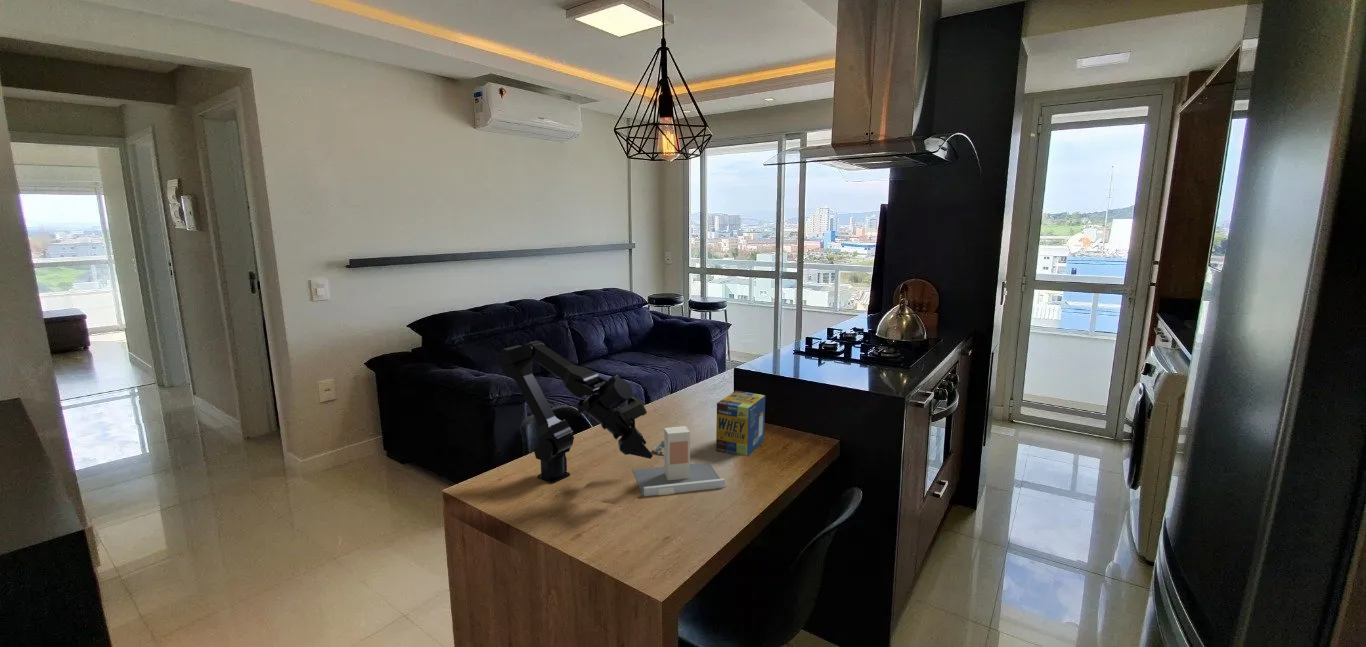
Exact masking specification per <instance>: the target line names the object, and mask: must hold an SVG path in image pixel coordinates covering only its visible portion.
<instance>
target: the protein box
mask: <svg viewBox="0 0 1366 647" xmlns="http://www.w3.org/2000/svg"><path fill="white" fill-rule="evenodd" d="M765 417H766V395H764V394H758V393H753V392H747V391H741V390H734V391H733V392H732V393H730V394H728V395H727V396H725V397H724V398H723V399H721V400H719V401H717V403H716V426H715V427H716V435H715V438H716V441H715V442H716V443H715V444H716V445H715V446H716V447H715V448H716V452H721V453H727V454H730V455H735V456H736V455H737V456H744V457H749V456H750V455H751V454H752V453H753V452H754V451H755V450H756V449H757V448H758V447H760V445H761V444H762V443H763V442H765V422H766V421H765Z"/></svg>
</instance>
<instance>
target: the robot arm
mask: <svg viewBox="0 0 1366 647" xmlns="http://www.w3.org/2000/svg"><path fill="white" fill-rule="evenodd" d="M532 360H533V361H535V362H536V363H537V364H539V365H540V366H541V367H543V368H544V369H546V370H547V371H549V373H552V374H553V375H555V376H556V377H557V378H559V379H560V380H561V381H562V382H563V385H564V387H565V388H566V389H567V391H568V392H570V393H571V394H572V395H573V397H576V398H580V399H579V400H578V402H577V404H576V406H577V414H578V415H581V414H583V413H585V412H586V413H587V414H588V415H589V416H591V417H592V418H593V419H594V420H595V421H597V423H599V424H600V426H601V428H602V430H605V431H606V430H607V431H608V432H609V433H611V435H612V436H613V438H614V439H615V440H617V445H618V449H619V451H620V452H621V453H622V454H623V455H624V456H626V455H632V456H635V457H636V456H637V457H641V458H645V459H649V460H651V459H652V458H653V457H654V456H653V454H652V452H651V451H650V450H649V448H648V447H647V446H646V444H647V441H646V440H645V438H644V436H643V434H642V433H641V431H639V429H637V427H636V420H637V419H638V418H640V417H643V416H645V415H647V414H648V411H647V409H646V407H645V405H644V404H643V401H642V399H641V398H639V397H636V398H635V397H634V396H633V388H632V386H631V384H630V383H628V382H627V381H626V380H625V379H623V378H620V376H619V375H618V374H616V375H613V376H612V377H610V378H609V379H608V380H607V379H605V378H603V377H601V376H600V375H599V374H598V373H597V372H596V371H595V370H592V369H590V368H589V367H588V368H587V367H585V366H579V365H576V364H573V363H571V362H570V361H568V359H566V358H564V357H563V356H562V355H560V354H558V353H556V351H554V350H553V349H551V348H549V347H548V346H546V344H545V343H544V342H542V341H540V340H535V341H531V342H528V343H525V344H524V345H515V346H514V345H513V346H511V347H506V348H504V349H501V350H499V352H498V355H497V358H496V361H497V364H498V366H499V367H500V369H501V370H502V372H503V373H504V374H505V375H506V376H508V377H509V378H511V379H512V380H513V381H515V383H516V385H517V387H518V389H519V391H520V392H521V395H522V396H523V399H524V400H525V402H526V404H527V406H528V407H529V408H528V409H530V412H531V414H532V415H533V417H534V419H535V422H536V423H537V424H538V439H539V441H540V445H539V446H538V447H536V449H535V450H534V451H533V453H534V456H535V459H537V460H540V473H539V474H537V478H539V479H541V480H544V481H546V482H549V483H552V484H553V483H556V482H558V481H560V480H562V479H564V478H567V477H569V476H570V475H571V473H570V472H568V461H567V460H568V458H567V456H566V453H569V452H570V451H571V447H572V446H573V445H574V440H575V436H574V433H573V432H574V430H573V429H572V428H571V427H570V423H569V422H568V420H567V419H563V420H561V419H559V418H558V417H556V415H555V413H554V410H553V409H552V407H551V405H550V404H549V402H548V399H547V398H546V397H545V395H544V394H545V393H544V392H543V390H542V389H541V387H540V385H539V382H538V381H537V378H535V375H534V374H533V371H532V370H533V361H532ZM586 396H587V398H584V399H581V398H582V397H586ZM623 403H625V404H624V406H622V407H620V406H621V405H622V404H623ZM619 437H620V438H619ZM618 438H619V439H618Z"/></svg>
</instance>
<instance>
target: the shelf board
mask: <svg viewBox="0 0 1366 647" xmlns="http://www.w3.org/2000/svg"><path fill="white" fill-rule="evenodd" d="M632 472H633V475H634V477H635V479H636V482H637V485H638V488H639V491H640V494H641V496H642V497H652V496H665V495H674V494H678V493H687V492H697V491H704V490H705V491H706V490H714V489H721V488H727V486H726V485H725V482H726V481H725V478H720V476H719V474H718V473H717V472H716V470H715V469H714V467H713V466H712V465H711V462H709V461H708V462H698V463H690V478H686V479H676V480H667V478H666V476H665V474H664V466H659V467H651V468H650V467H649V468H648V467H646V468H638V469H632Z"/></svg>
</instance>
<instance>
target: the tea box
mask: <svg viewBox="0 0 1366 647" xmlns="http://www.w3.org/2000/svg"><path fill="white" fill-rule="evenodd" d="M663 439H664V440H663V441H664V447H663V448H664V449H663V450H664V451H663V452H664V455H663V458H664V459H663V462H664V465H663V467H664V474H665V476H666V478H667V480H676V479H686V478H690V464H691V460H690V459H691V458H690V457H691V454H690V453H691V432H690V430H689V428H688V427H687V426H686V425H683V426H673V427H672V426H671V427H664V428H663Z"/></svg>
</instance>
